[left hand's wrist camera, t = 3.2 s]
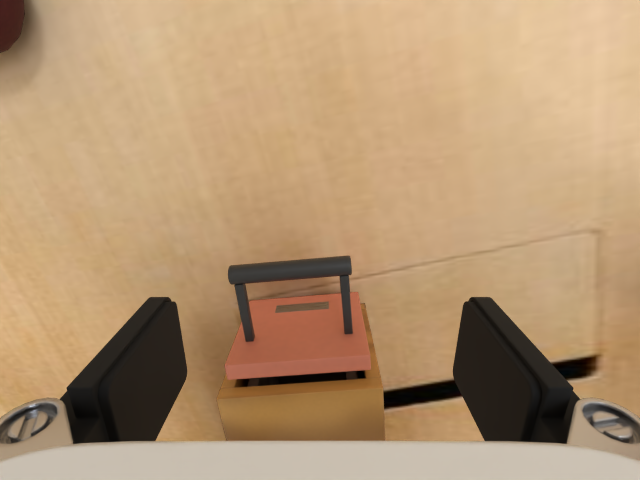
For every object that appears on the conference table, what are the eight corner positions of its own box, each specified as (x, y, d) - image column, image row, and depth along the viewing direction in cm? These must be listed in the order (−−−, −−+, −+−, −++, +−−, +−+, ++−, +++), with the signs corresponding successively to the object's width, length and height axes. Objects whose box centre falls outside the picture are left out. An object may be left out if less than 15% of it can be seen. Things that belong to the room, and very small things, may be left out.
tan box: (248, 312, 32) (215, 399, 23) (364, 303, 32) (383, 387, 22) (276, 460, 39) (260, 578, 29) (373, 454, 38) (390, 571, 29)
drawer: (237, 238, 29) (205, 285, 21) (353, 227, 29) (365, 272, 21) (276, 447, 37) (264, 540, 29) (367, 442, 37) (380, 534, 29)
